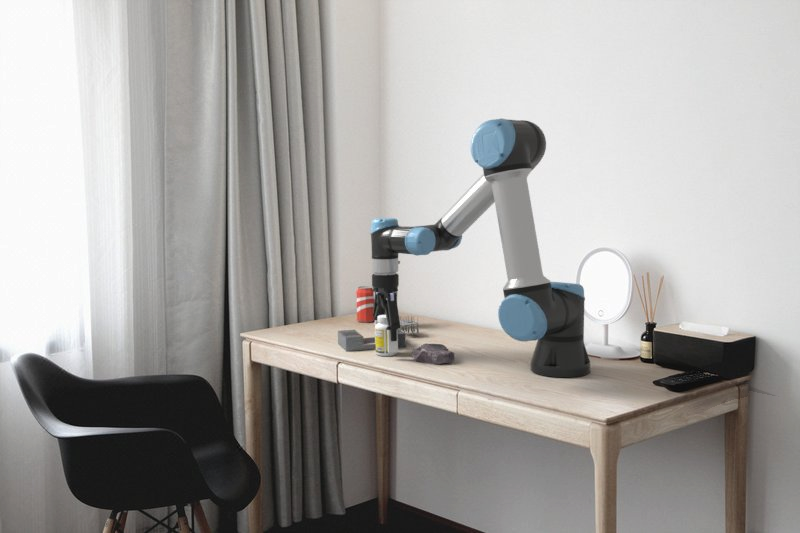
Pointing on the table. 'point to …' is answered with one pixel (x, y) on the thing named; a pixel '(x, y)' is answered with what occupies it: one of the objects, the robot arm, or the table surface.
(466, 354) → the table surface
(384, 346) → the pill bottle
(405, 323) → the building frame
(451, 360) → the rock
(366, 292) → the beverage can
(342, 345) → the grey recessed block
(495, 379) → the table surface
